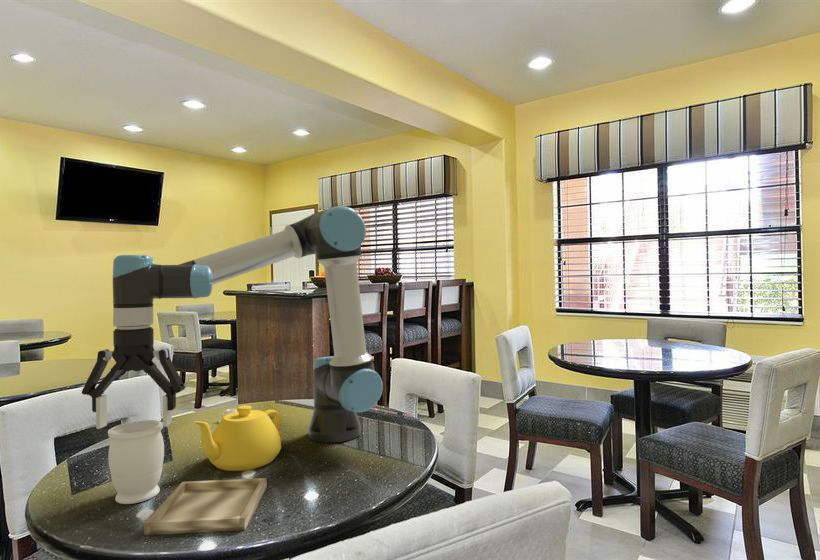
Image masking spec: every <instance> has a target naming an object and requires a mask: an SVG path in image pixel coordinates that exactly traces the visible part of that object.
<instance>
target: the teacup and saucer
mask: <svg viewBox="0 0 820 560" xmlns="http://www.w3.org/2000/svg"><path fill="white" fill-rule="evenodd" d="M233 412H237V408H235V407H234V408H228V409H226V410H224V411H222V417H224V416H225V413H226V415H227V414H229V413H233ZM220 421H221V419H219V421H218V423H219V422H220Z"/></svg>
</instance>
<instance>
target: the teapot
mask: <svg viewBox="0 0 820 560" xmlns="http://www.w3.org/2000/svg"><path fill="white" fill-rule="evenodd" d="M236 409H237V412H233V413H229V414H227V413H226V414H224V416H222V417H221V419H220V420H221V421H220V420H219V421H220V422H219V421H218V424H217V426H216V428H214V431H213V433H212V431H211V427H210V425H209V423H208V422H206V421H199V420H195V421H193V423H194V424H196V425H197V426H198V427H199V428H200V433H201V436H200V437H201V438H200V439H201V441H200V443H201V450H202V452H203V453H204V455H205V456H206V457H207V459H208V460H209V462H210V463H211V464H212V465H213V466H215V467H216V468H217V469H219V470H222V471H227V472H242V471H249V470H250V471H251V470H255V469H258V468H261V467H264V466H266V465H268V464H270V463H272V462H273V461H274V460H275V459H276V457H277V456H278V455H279V453H280V451H281V449H282V440H283V439H284V434H283V432H282V431H280V430H279V429H280V425H281V415H280V412H278V411H277V410H275V409H267V410H264V411H263V410H259V409H252V406H251V405H245V404H244V405H240V406H238V407H237V408H236ZM271 414H272V415H273V417H274V420H273V421H272V419H271V418H270V416H269V415H271Z"/></svg>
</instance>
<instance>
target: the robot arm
mask: <svg viewBox="0 0 820 560" xmlns="http://www.w3.org/2000/svg"><path fill="white" fill-rule="evenodd" d="M366 234H367V229H366V223H365V222H364V219H363V218H362V216H361V215H360V213H359V212H357V211H356V210H355V209H354V208H352V207H349V206H345V205H341V206H336V205H335V206H332V207H328V208H325V209H324V210H321V211H318V212H315V213H313V214H311V215H309V216H307V217H305V218H303V219H300V220H298V221H296V222H294V223H292V224H289V225H288V224H287V225H286V226H285V227H284V230H281V231H279V232H278V231H277V232H275V233H272V234H268V235H266V236H263V237H260V238H255V239H254V240H250V241H247V242H244V243H241V244H238V245H235V246H232V247H229V248H226V249H223V250H220V251H217V252H214V253H210V254H206V255H204V256H200V257H197V258H195V259H192V260H189V261H186V262H182V263H180V264H157V263H155V262H154V259H153V257H152V256H151V255H146V254H145V255H144V254H143V255H142V254H140V255H139V254H119V255H117V256H116V257H115V258H113V263H112V265H113V266H112V303H113V304H112V305H113V306H112V307H113V308H112V311H113V313H112V314H113V316H112V318H113V319H112V326H113V327H115V329H114V330H113V331H112V333H113V334H112V336H113V337H112V338H113V343H112V345H113V347H114V349H113V350H110V349H108V348H105V349H103V350H102V349H101V350H99V351H97V357H96V362H95V364H94V366H93V368H92V371H91V372H90V374H89V376H88V378H87V380H86V381H85V384H84V386H83V388H82V389H81V394H82V395H87V396H90V397H91V410H92V413H95V415H96V416H95V423H96V424H95V427H96V429H97V430H101V429H102V428H104V427H107V425H108V405H107V404H108V400H107V397H108V396H107V394H105V391H106V390H107V389H108V388H109V387H110V386H111V384H112V383H113V382H114V380H116V378H117V377H118V376H119V375H120V373H121V372H123V371H124V372H131V371H134V372H140V371H141V372H142V371H143V372H144V373H145V374H147V375H148V376H149V377H150V378H151V379H152V380H153V382H155V383H156V385H158V387H159V388H160V389H161V390H162V391H163V393H165V395H163V396H162V422H163V428H167V427H169V426H170V425H172V424H173V423H172V421H173V419H172V416H173V415H172V414H173V413H172V412H173V411H174V410H175V409H176V406H177V394H178V393H181V392H182V391H184V390H185V389H186V386H185V384H184V382H183V380H182V378H181V377H180V374H179V373H178V370H177V369H176V367H175V365H174V363H173V360H172V359H171V355H170V350H169V349H168V348H167V347H166V348H162V349H159V350H158V349H157V350H155V348H154V344H155V343H154V341H155V339H154V334H155V333H154V328H153V327H152V326H153V324H154V300H155V299H157V300H158V299H159V300H160V299H161V300H162V299H196V300H197V299H199V298H200V299H202V298H208V297H210V296H211V294H212V292H213V285H216V284H218V283H221V282H225V281H228V280H231V279H232V278H236V277H239V276H241V275H244V274H248V273H250V272H254V271H255V270H259V269H263V268H265V267H267V266H270V265H274V264H275V263H279V262H281V261H284V260H287V259H290V258H293V257H294V258H296V259H300V258H301V259H302V258H304V257H306V256H312V255H316V257H317V262H318V263H320V265H322V266H323V268H324V276H325V284H326V285H325V286H326V291H327V292H326V294H327V302H328V303H327V304H328V311H329V319H330V327H331V328H330V329H331V335H332V336H331V338H332V346H333V353H334V354H333V355H331V356H321V357H318V358H315V359H314V360H313V366H312V376H313V406H314V408H313V412H312V416H311V419H310V423H309V427H308V438H309V439H310V440H312V441H313V442H318V443H326V444H327V443H330V444H331V443H333V444H334V443H342V442H347V441H351V440H354V439H356V438H357V437H360V435H361V433H362V432H361V431H362V426H361V423H360V420H359V416H358V413H363V412H368V411H369V410H371V409H372V408H373V407H375V406H376V404H377V403H378V401H380V399H381V397H382V394H383V390H384V387H383V386H384V385H383V384H384V383H383V381H382V378H381V376H380V374H379V373H378V372H377V371H376V370H375V365H374V358H373V356H372V355H371V354H370V353H369V352H367V346H366V345H367V344H366V338H365V336H366V335H365V328H364V327H365V326H364V318H363V311H362V309H363V308H362V301H361V292H360V283H359V282H360V281H359V274H358V265H357V264H358V262H359V261H360V259H361V258H362V249H361V248H362V247H361V246H362V244H363V243H364V241H365V239H366ZM155 357H156V359H157V360H159V363H160V365H161V367H162V368H163V371H164V373H165V375H166V376H165V375H164V373H163V372H162V371H161V370H160V369H159V368H158V366H157V365H156V363H155V362H154V361H153V359H155ZM111 359H113V360H114V362H115V363H114V365H113V366H112V367H111V368H110V371H109V372H108V373H107V374H106V375H105V377H103V379H102V380H101V381H100V379H101V377H102V375H103V373H104V371H105V369H106V367H107V365H108V363H109V361H111ZM99 381H100V382H99Z"/></svg>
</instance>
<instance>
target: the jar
mask: <svg viewBox="0 0 820 560" xmlns="http://www.w3.org/2000/svg"><path fill="white" fill-rule="evenodd" d="M163 428H164V427H163V421H161V420H156V419H145V420H144V419H143V420H136V421H131V422H125V423H122V424H118V425H115V426H114V427H111V428H110V429H108V431H107V436H108V438H110V442H109V447H108V455H107V457H108V458H107V459H108V466H109V467H108V468H109V471H110V474H111V481H112V485H113V487H114V490H115V491H116V492H117V494H116V496H115V498H114V500H115V502H116V503H117V504H120V505H131V504H137V503H138V504H139V503H142V502H145V501H148V500H150V499H153V498H154V497H156V496H157V495H158V494H159V493H160V491H161V488H160V486H159V485H158V484H159V481H160V479H161V476H162V472H163V464H164V458H165V443H164V437H163V433H162V430H163Z"/></svg>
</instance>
